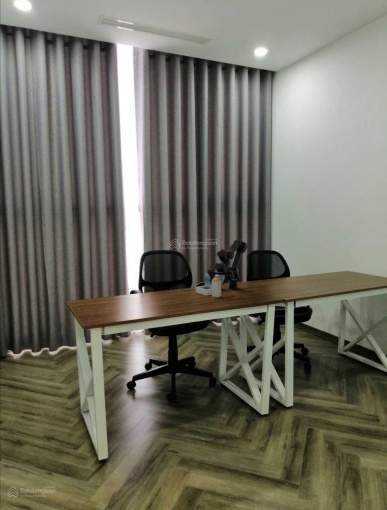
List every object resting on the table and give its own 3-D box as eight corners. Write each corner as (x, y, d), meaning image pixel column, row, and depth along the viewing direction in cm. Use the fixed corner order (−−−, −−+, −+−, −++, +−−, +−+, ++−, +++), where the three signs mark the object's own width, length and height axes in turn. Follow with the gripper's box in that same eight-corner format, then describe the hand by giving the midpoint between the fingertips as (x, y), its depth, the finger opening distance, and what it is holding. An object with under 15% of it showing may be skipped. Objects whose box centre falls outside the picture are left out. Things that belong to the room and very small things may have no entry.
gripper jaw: (214, 295, 251) (214, 277, 250) (221, 295, 249) (221, 278, 247) (211, 296, 247) (211, 279, 245) (218, 297, 244) (218, 279, 243)
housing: (209, 290, 267) (209, 284, 266) (219, 293, 257) (219, 287, 256) (196, 292, 260) (195, 287, 259) (206, 295, 250) (205, 289, 250)
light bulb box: (204, 288, 273) (204, 274, 272) (208, 287, 279) (208, 273, 278) (218, 290, 268) (217, 275, 267) (221, 288, 274) (221, 274, 273)
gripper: (208, 257, 255) (200, 275, 247) (232, 259, 245) (225, 278, 237) (213, 267, 262) (206, 285, 254) (237, 269, 253) (230, 287, 245)
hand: (216, 283), depth 247 cm, fingers open, 9 cm apart
